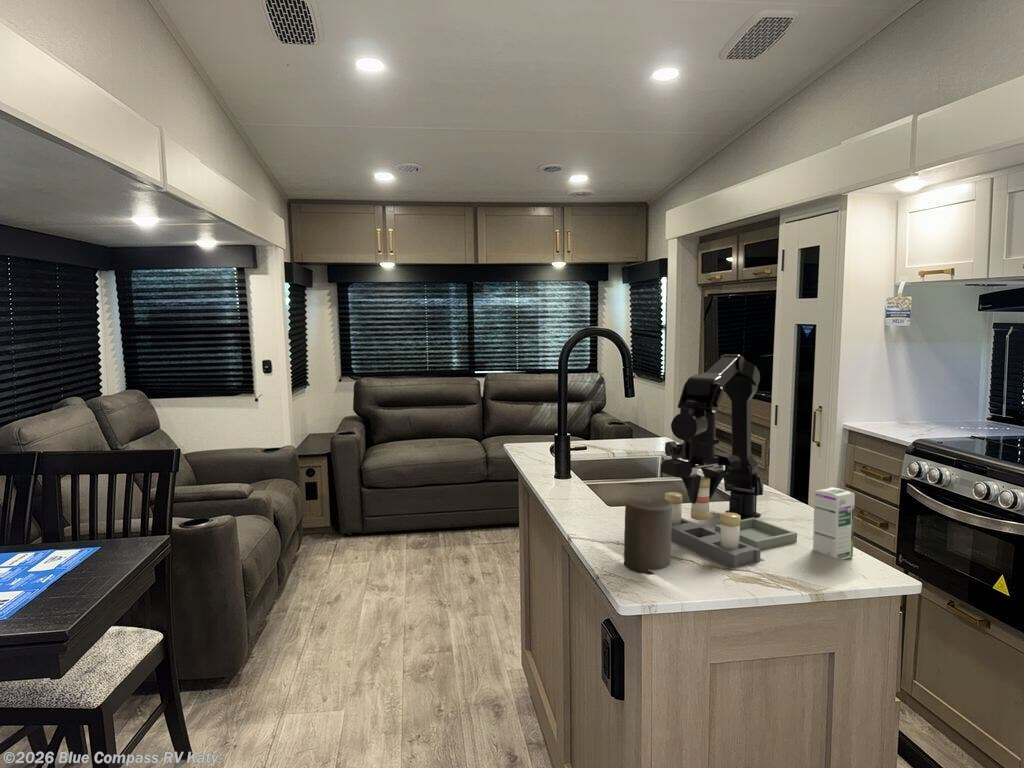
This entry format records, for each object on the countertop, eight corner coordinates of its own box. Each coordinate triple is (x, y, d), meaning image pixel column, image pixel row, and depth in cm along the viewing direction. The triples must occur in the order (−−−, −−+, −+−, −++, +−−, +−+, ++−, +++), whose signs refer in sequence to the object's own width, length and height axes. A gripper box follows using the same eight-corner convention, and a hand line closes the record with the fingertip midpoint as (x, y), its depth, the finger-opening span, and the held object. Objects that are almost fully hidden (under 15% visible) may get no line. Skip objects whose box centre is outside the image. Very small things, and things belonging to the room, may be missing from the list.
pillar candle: (623, 572, 128) (625, 501, 126) (623, 555, 137) (625, 488, 136) (672, 576, 126) (675, 504, 124) (669, 558, 136) (671, 490, 134)
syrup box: (836, 562, 132) (839, 495, 131) (811, 553, 137) (814, 489, 136) (853, 557, 135) (856, 492, 133) (828, 549, 140) (831, 485, 139)
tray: (753, 529, 154) (753, 517, 153) (796, 545, 142) (797, 532, 142) (714, 537, 148) (714, 525, 148) (756, 555, 137) (756, 541, 136)
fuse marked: (700, 513, 144) (701, 475, 143) (713, 518, 140) (714, 479, 139) (686, 516, 142) (687, 477, 141) (699, 521, 138) (700, 481, 137)
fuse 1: (673, 527, 152) (674, 491, 151) (685, 532, 149) (685, 495, 148) (660, 530, 151) (661, 493, 150) (671, 535, 147) (672, 497, 146)
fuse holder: (642, 532, 152) (643, 518, 152) (675, 526, 156) (675, 512, 156) (729, 573, 127) (729, 556, 127) (764, 564, 131) (765, 548, 131)
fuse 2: (729, 551, 136) (730, 511, 135) (743, 557, 133) (744, 516, 132) (715, 554, 134) (716, 514, 134) (729, 561, 131) (730, 519, 130)
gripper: (707, 425, 150) (706, 488, 152) (645, 431, 142) (644, 498, 144) (743, 432, 140) (741, 500, 142) (678, 439, 132) (677, 511, 134)
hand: (700, 501), depth 141 cm, fingers closed on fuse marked, 4 cm apart
